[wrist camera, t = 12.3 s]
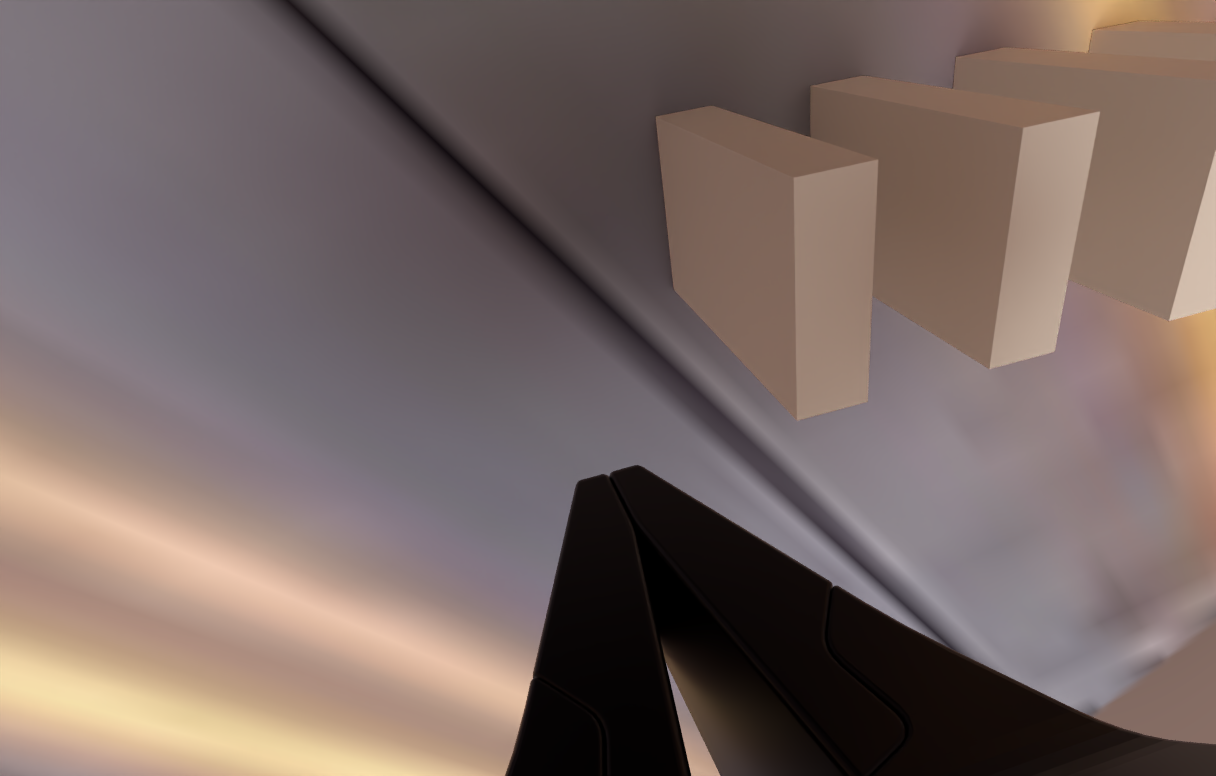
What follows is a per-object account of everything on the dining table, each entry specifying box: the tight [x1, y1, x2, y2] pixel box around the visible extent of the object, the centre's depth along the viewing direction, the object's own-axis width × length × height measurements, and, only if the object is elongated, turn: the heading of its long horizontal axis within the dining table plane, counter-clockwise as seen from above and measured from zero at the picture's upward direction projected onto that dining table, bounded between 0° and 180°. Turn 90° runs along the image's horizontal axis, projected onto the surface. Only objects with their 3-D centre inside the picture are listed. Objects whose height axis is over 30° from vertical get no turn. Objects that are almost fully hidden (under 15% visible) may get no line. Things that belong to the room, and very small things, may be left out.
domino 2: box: [810, 75, 1100, 369], centre depth 18 cm, size 5×2×8 cm, turn 9°
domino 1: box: [656, 105, 878, 421], centre depth 17 cm, size 5×2×8 cm, turn 9°
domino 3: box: [953, 47, 1216, 321], centre depth 18 cm, size 5×2×8 cm, turn 9°
